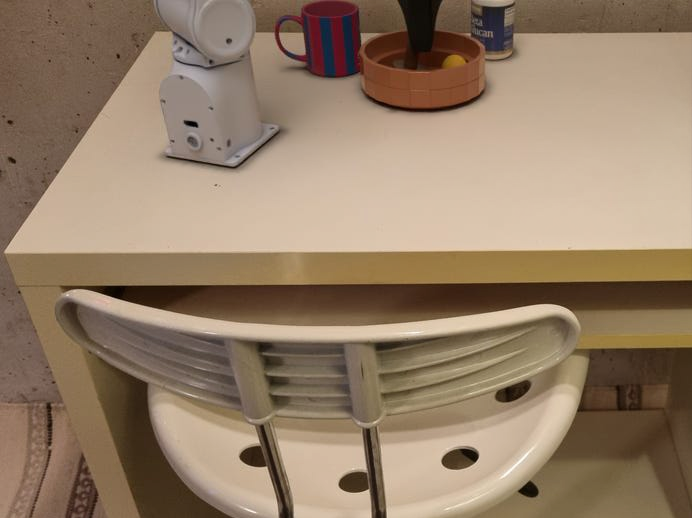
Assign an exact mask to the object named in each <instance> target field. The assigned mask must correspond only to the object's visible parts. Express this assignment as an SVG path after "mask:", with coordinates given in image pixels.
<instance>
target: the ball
mask: <svg viewBox="0 0 692 518" xmlns="http://www.w3.org/2000/svg"><path fill="white" fill-rule="evenodd" d="M464 64H466V61H465V60H464V59H463V58H462V57H461V56H459V55H450V56H448V57H447V58H446V59H445V60H444V61H443V64H442V69H448V68H452V67H457V66H461V65H464Z"/></svg>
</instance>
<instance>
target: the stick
mask: <svg viewBox="0 0 692 518" xmlns="http://www.w3.org/2000/svg"><path fill="white" fill-rule="evenodd" d="M419 55H420V52H413V51H412V48H411V45H410V41H409V36H408V41H407V46H406V52H405V58H404V60H396V61H394V62H393V65H392V68H397V69H405V70H425V71H427V69H426V67H424V66H423V65H421V64H419V63H418V60H419Z"/></svg>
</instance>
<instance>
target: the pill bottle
mask: <svg viewBox="0 0 692 518" xmlns="http://www.w3.org/2000/svg"><path fill="white" fill-rule="evenodd" d="M515 9H516V0H470V36H471V37H473V38H475V39H477V40H479V41H480V42H481V43H482V44H483V45H484V46H485V60H491V61H493V60H495V61H496V60H503V59H506V58H508V57H510V56H511V55H512V54H513V50H514V31H515V11H516V10H515Z"/></svg>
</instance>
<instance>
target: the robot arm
mask: <svg viewBox="0 0 692 518" xmlns="http://www.w3.org/2000/svg"><path fill="white" fill-rule="evenodd" d="M396 1H397V2H398V4H399V7H400V9H401V12H402V15H403V17H404V23H405V26H406V30H407V31H408V36H409V41H410V45H411V48H412V51H413V52H431V49H432V45H433V39H434V32H435V29H436V25H437V24H436V23H437V18H438V14H439V10H440V7H441V4H442V2H443V0H396ZM153 5H154V7H153V8H154V10H155V13H156V16H157V18H158V20H159V21H160V22H161V24H163V26H164V27H165V28H166V29H167V30H169V31H170V32H171V34H172V39H171V47H170V50H171V54H172V55H171V56H172V65H171V68H170V71H169V72H168V73H167V75H166V76H165V77H164V78H163V79H162V81H161V82H160V87H159V90H158V97H159V103H160V107H161V112H162V115H163V119H164V125H165V127H166V132H167V137H168V140H169V144H170V146H168V147H166V149H165V150H164V154H165V156H168V157H173V158H178V159H185V160H190V161H196V162H201V163H202V162H203V163H207V164H214V165H220V166H225V167H231V168H232V167H233V168H234V167H236V166H238V165H240V164H241V163H242V162H243V161H244V160H245V159H247V158H248V157H249V156H251V155H252V154H253V153H254V152H255V151H257V149H258V148H260V147H261V146H262V145H263V144H265V143H266V142H267V141H269V139H271V138H272V137H273V136H274V135H275V134H277V133H278V132H279V131H280V126H279V125H278V124H274V123H267V122H262V118H261V117H262V116H261V112H260V104H259V100H258V99H259V98H258V92H257V87H256V86H257V85H256V80H255V73H254V68H253V67H254V66H253V62H252V61H253V60H252V54H251V50H250V49H251V46H252V44H253V42H254V40H255V36H256V32H257V19H256V15H255V12H254V9H253V7H252V5H251V4H250V2H249V1H248V0H153Z"/></svg>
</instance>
